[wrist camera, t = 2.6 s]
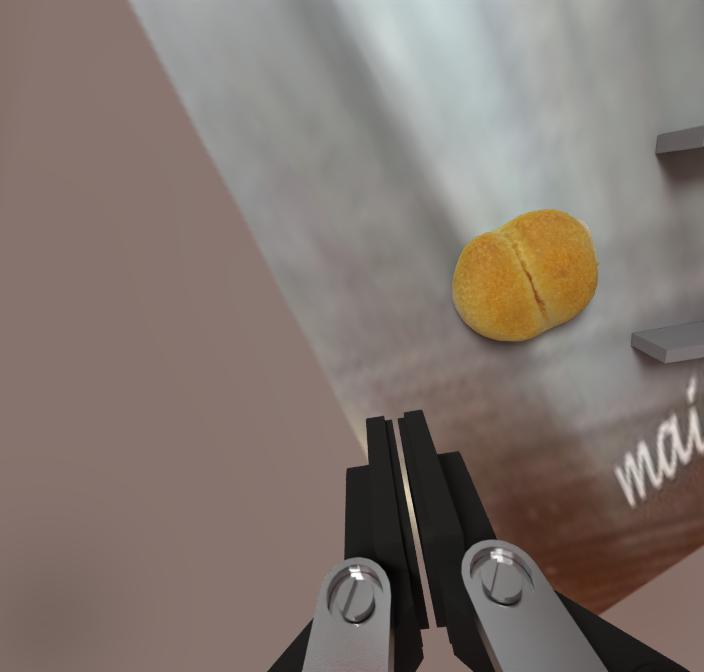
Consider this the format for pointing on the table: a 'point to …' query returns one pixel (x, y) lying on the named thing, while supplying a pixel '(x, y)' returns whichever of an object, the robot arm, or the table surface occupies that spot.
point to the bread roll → (526, 276)
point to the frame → (687, 337)
